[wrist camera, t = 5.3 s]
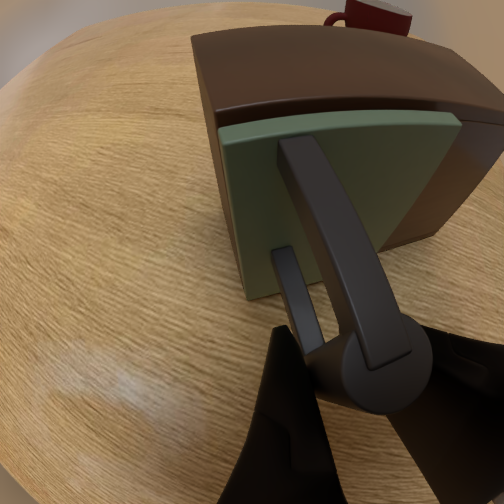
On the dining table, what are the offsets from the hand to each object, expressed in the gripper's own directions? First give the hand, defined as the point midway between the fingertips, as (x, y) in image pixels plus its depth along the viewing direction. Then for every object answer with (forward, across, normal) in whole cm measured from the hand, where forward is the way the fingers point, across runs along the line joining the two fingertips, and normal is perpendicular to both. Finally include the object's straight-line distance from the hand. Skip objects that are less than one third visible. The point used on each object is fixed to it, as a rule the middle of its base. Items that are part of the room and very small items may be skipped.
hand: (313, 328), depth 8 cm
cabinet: (+10, -6, 0) cm, 11 cm away
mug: (+25, -20, -15) cm, 35 cm away
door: (+5, -2, +4) cm, 7 cm away
